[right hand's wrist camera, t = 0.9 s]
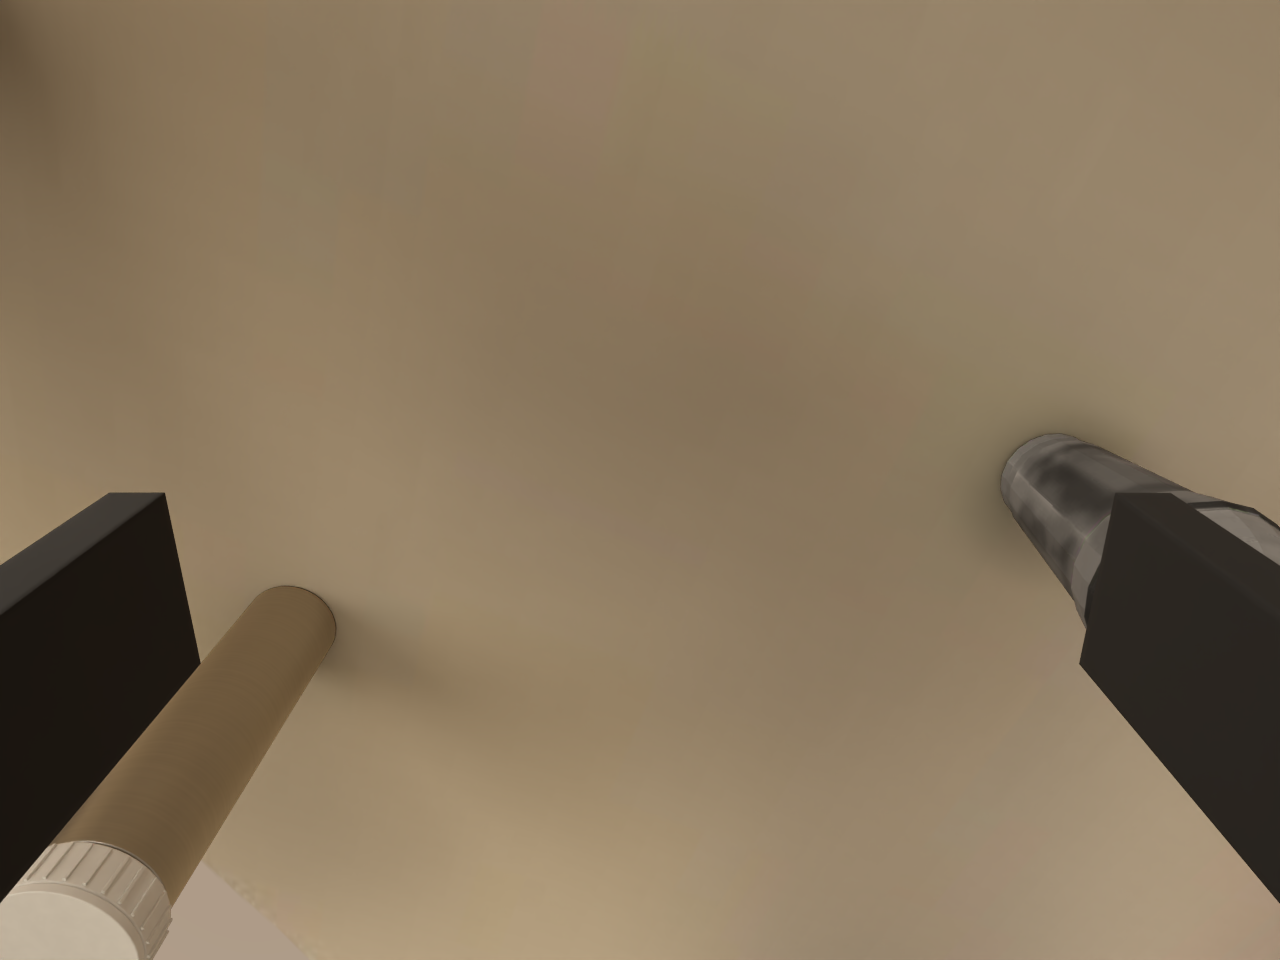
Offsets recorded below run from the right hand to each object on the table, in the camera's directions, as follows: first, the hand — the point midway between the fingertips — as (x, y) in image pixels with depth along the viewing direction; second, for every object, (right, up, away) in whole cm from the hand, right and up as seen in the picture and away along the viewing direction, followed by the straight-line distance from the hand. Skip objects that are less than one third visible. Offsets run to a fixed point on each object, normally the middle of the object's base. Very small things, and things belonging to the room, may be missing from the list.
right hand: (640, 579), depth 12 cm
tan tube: (-18, -6, +32) cm, 37 cm away
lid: (-18, -13, +15) cm, 26 cm away
